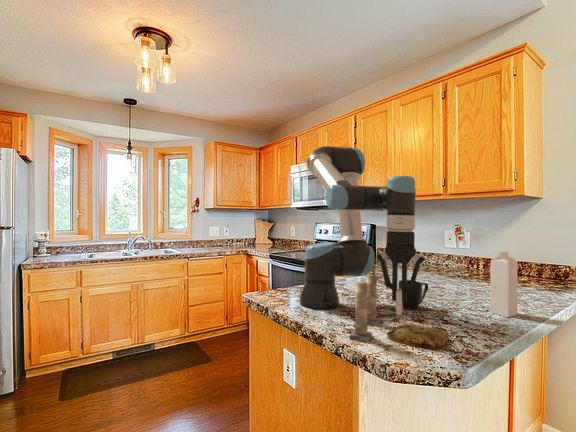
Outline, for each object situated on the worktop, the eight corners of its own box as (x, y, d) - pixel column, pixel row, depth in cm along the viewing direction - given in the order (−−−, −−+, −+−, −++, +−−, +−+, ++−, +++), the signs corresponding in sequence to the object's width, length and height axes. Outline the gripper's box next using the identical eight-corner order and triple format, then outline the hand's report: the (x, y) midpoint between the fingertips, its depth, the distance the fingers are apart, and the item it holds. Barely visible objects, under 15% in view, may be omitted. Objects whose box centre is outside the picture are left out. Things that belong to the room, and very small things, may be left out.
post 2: (361, 323, 97) (361, 275, 97) (364, 319, 102) (365, 273, 102) (377, 326, 95) (378, 277, 95) (380, 321, 100) (380, 274, 100)
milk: (517, 315, 109) (518, 252, 109) (508, 317, 106) (509, 252, 106) (498, 310, 114) (499, 250, 114) (489, 312, 111) (490, 251, 111)
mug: (435, 309, 114) (435, 283, 114) (407, 311, 111) (408, 285, 111) (419, 303, 122) (420, 279, 122) (393, 305, 119) (394, 280, 119)
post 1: (349, 338, 85) (350, 283, 85) (354, 332, 89) (354, 280, 89) (368, 342, 82) (368, 285, 83) (371, 335, 87) (372, 282, 87)
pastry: (467, 351, 78) (467, 339, 78) (401, 353, 77) (401, 341, 77) (430, 327, 96) (430, 318, 96) (375, 328, 94) (375, 318, 94)
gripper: (374, 230, 88) (373, 313, 88) (425, 232, 82) (423, 320, 82) (379, 229, 95) (377, 306, 95) (425, 231, 89) (424, 312, 89)
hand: (399, 313), depth 89 cm, fingers closed
